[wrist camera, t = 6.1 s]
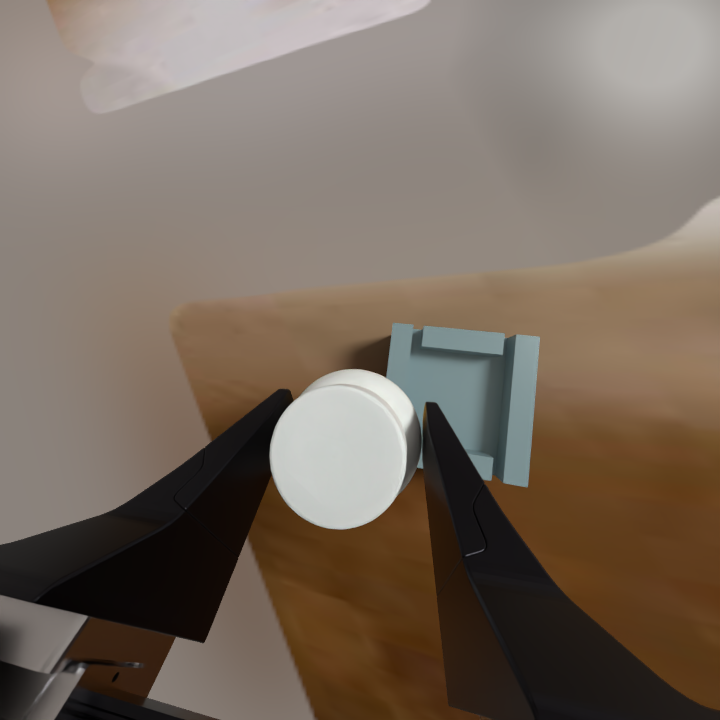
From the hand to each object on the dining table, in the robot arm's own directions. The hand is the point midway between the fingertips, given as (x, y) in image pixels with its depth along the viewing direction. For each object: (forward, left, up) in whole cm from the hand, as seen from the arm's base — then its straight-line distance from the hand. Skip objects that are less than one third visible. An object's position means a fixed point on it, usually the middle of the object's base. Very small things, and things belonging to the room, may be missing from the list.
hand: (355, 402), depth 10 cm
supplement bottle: (-1, 0, -7) cm, 7 cm away
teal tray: (0, -6, -13) cm, 15 cm away
